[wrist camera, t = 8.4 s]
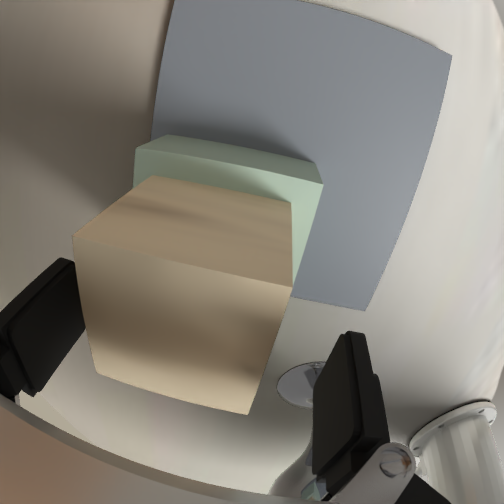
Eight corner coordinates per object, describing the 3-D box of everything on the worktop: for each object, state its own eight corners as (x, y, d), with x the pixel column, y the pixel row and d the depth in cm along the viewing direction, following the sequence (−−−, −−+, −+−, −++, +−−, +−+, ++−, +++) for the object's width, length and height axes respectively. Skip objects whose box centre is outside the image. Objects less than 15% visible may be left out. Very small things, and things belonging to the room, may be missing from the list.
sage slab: (280, 287, 20) (277, 331, 16) (157, 259, 20) (132, 296, 16) (315, 163, 16) (323, 184, 12) (167, 134, 16) (135, 147, 12)
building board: (362, 302, 21) (364, 311, 20) (148, 255, 21) (143, 262, 20) (444, 56, 12) (452, 55, 12) (183, -7, 12) (177, -12, 12)
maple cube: (261, 314, 16) (247, 415, 10) (147, 287, 16) (96, 372, 10) (291, 202, 13) (292, 287, 8) (152, 174, 13) (72, 235, 8)
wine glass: (313, 344, 23) (315, 541, 10) (378, 380, 25) (401, 538, 12) (254, 391, 27) (232, 547, 14) (318, 418, 28) (317, 555, 15)
